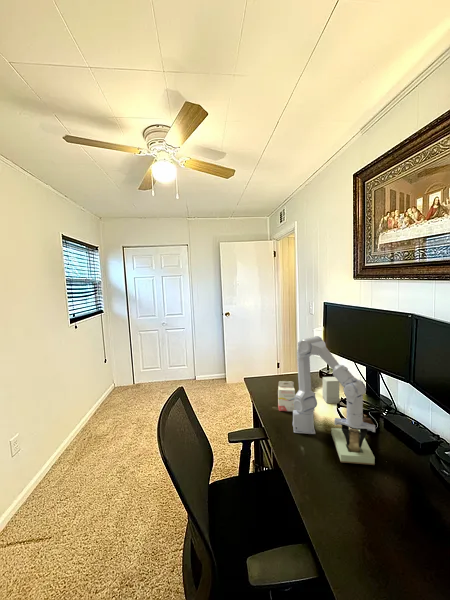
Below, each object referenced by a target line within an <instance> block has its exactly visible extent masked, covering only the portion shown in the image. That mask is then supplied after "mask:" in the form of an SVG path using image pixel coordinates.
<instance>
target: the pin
mask: <svg viewBox="0 0 450 600" xmlns="http://www.w3.org/2000/svg"><path fill="white" fill-rule="evenodd" d="M359 430H360V429H358V428H349V451H350V452H356V453H360V447H359V444H360V431H359Z"/></svg>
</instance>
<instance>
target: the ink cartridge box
mask: <svg viewBox="0 0 450 600" xmlns="http://www.w3.org/2000/svg"><path fill="white" fill-rule="evenodd" d="M294 383H295V382H294V381H289V380H288V381H287V380H282V381H281V380H279V381H278V386H277V388H278V389H277V408H278V411H279V412H293V410H296V409H295V407H294V400H295V395H296V389H295V387H294Z"/></svg>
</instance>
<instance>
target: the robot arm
mask: <svg viewBox="0 0 450 600" xmlns="http://www.w3.org/2000/svg"><path fill="white" fill-rule="evenodd" d="M313 355H314V356H319V357H320V358H321V360H323V361H324V362H325V363H326V364H327V365H328V366H329V368H331V370H332V376H333V377H336V379H337V380H338V381H339V384H340V385H341V386H342V387H343V393H344V395H345V399H346V418H338V417H334V425H335V426H338V425H340V426H341V428H340V429H342V431H343V433H344V435H345V438H346V442H347V445H349V429H350V428H351V429H358V430H360V444H359V447H360V448H361V446H362V442H363V440H364V438H365V439H366V437H367V435H368V431H371V432H372V433H376V425H375V424H374V425H372V424H369V423H366V422H363V414H364V412H363V411H364V409H363V408H364V407H363V406H364V405H363V403H364V398H363V397H364V394H366V391H367V386H366V384H365V383H364V382H363V380H361V379H358V378H356V377H355V376H354V375H353V374H352V372H350V371H349V370H348V369H349V368H348V367H347V366H345V365H343V364H339V362H338V361H337V360H336V358H335V357H334V355H333V354H332V353H331V352H330V350H329V349H328V347H327V345H326V342H325V341H324V340H323V339H322V337H320V335H319V336H318V335H315V336H312V337H311V336H310V337H308V338H302V339H300V340H299V341H298V342H297V351H296V357H297V358H296V360H297V361H296V362H297V378H298V380H297V381H298V390H297V392H295V400H294V407H295V410H293V411H292V427H293V428H292V429H293V433H295V434H308V435H316V430H315V426H314V422H315V421H314V417H315V416H314V411H315V409H316V407H317V406H318V400H317V399H316V398H317V397H316V393H315V392H314V391H312V379H311V361H310V357H311V356H313Z"/></svg>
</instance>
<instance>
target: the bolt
mask: <svg viewBox="0 0 450 600" xmlns="http://www.w3.org/2000/svg"><path fill="white" fill-rule="evenodd" d="M363 422H366V423H369V424H372V425H375V424H374V422H373V420H372V419H371V418H370V417H366V416H365V414H364V413H363Z"/></svg>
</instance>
